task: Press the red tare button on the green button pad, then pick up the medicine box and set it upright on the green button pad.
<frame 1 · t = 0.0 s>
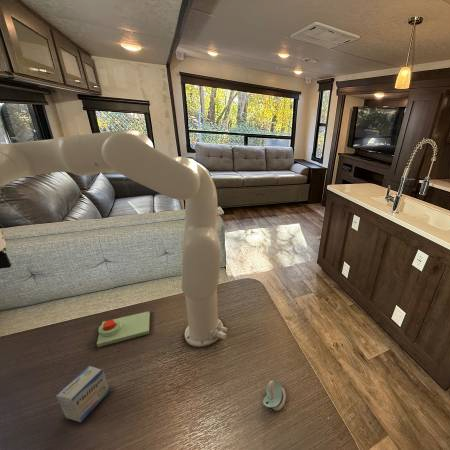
tare button: (109, 325, 82), point 3 cm above the table, slide at 0.1 cm
green button pad: (125, 329, 85), on the table
medicine box: (89, 404, 63), on the table
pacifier: (275, 399, 68), on the table
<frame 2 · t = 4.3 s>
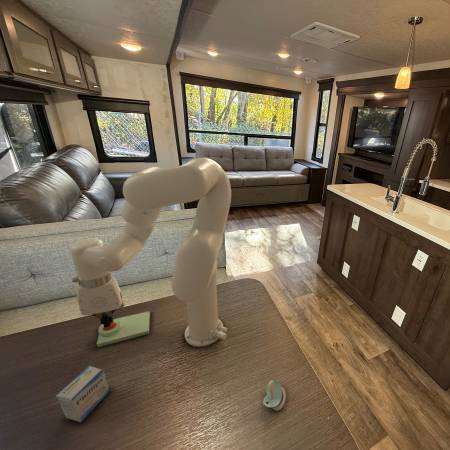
hand: (108, 324, 81), 4 cm above the table, tool pointing down, fingers closed
tare button: (109, 326, 82), point 3 cm above the table, slide at -0.3 cm, touching gripper
everything else where it was.
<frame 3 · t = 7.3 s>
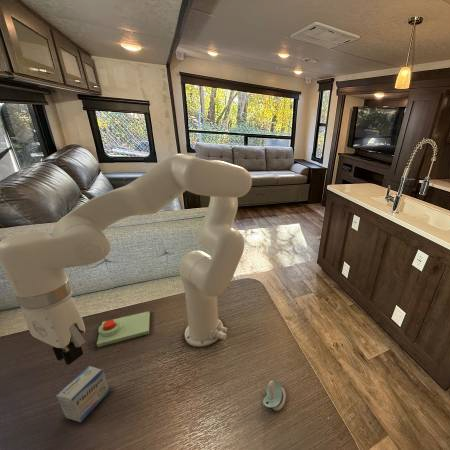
hand: (70, 356, 56), 17 cm above the table, tool pointing down, fingers closed
tare button: (109, 325, 82), point 3 cm above the table, slide at 0.1 cm
everything else where it was.
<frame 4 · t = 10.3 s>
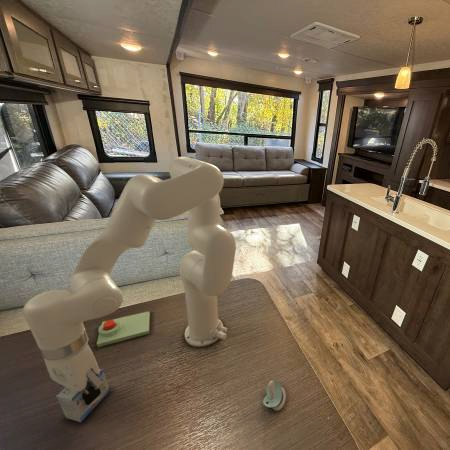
hand: (85, 394, 61), 4 cm above the table, tool pointing down, fingers closed on medicine box, 4 cm apart
medicine box: (89, 404, 63), on the table, touching gripper
everything else where it was.
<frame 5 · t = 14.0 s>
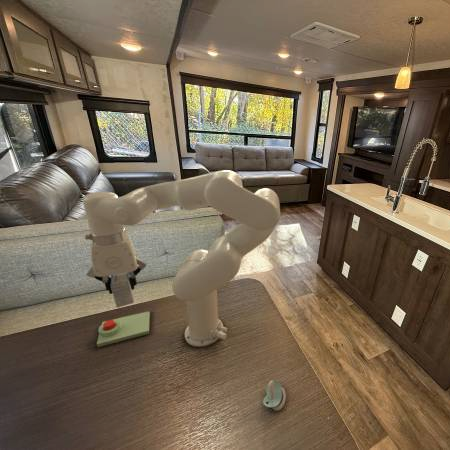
hand: (122, 288, 76), 19 cm above the table, tool pointing down, fingers closed on medicine box, 4 cm apart
medicine box: (125, 298, 78), point 15 cm above the table, touching gripper
everything else where it was.
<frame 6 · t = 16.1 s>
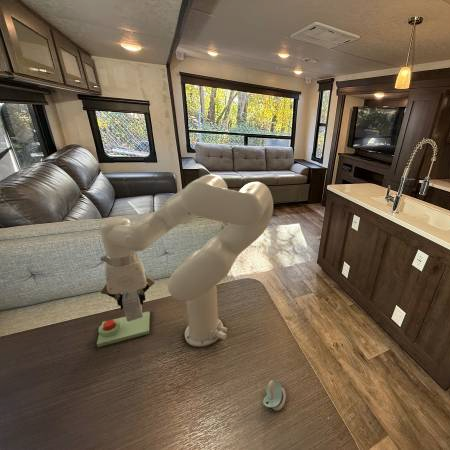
hand: (132, 303, 82), 10 cm above the table, tool pointing down, fingers closed on medicine box, 4 cm apart
medicine box: (134, 312, 84), point 6 cm above the table, touching gripper
everything else where it was.
when the fingers open (5 cm above the table, at t = 17.8 s): medicine box stays where it is, resting on green button pad.
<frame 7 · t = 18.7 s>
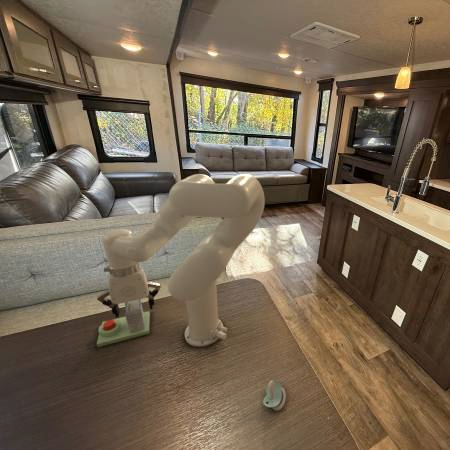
hand: (135, 310, 84), 7 cm above the table, tool pointing down, fingers open, 9 cm apart
medicine box: (137, 323, 86), point 1 cm above the table, touching green button pad
everything else where it was.
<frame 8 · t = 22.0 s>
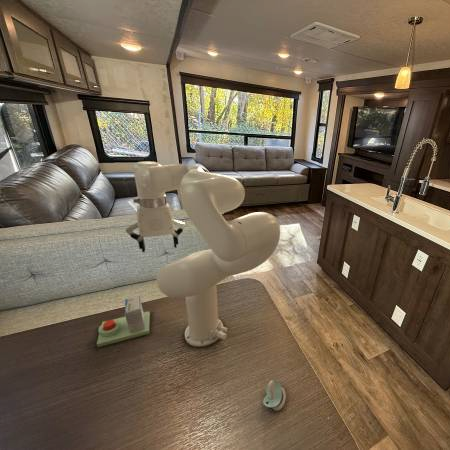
hand: (160, 248, 86), 26 cm above the table, tool pointing down, fingers open, 9 cm apart
nothing on the table moved.
at the end: tare button pushed in 0.9 cm at the most during the clip, back to where it started at the end; medicine box inside the target area on the green button pad (0.3 cm from its centre), point 1.2 cm above the green button pad's base; medicine box touching green button pad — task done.
